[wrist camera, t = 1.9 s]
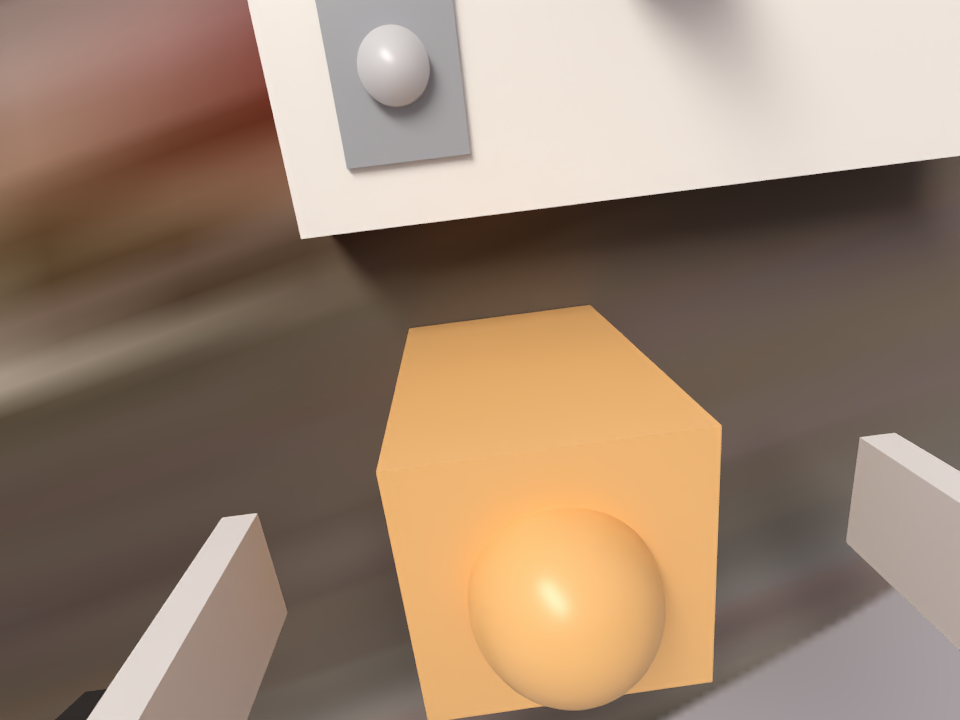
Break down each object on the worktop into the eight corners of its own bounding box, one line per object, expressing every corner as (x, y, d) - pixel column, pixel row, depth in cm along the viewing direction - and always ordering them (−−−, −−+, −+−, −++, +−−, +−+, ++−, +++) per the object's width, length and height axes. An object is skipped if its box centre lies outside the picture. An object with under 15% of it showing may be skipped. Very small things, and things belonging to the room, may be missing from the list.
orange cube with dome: (435, 485, 20) (424, 834, 9) (409, 328, 18) (357, 549, 7) (598, 463, 20) (766, 783, 9) (590, 304, 18) (791, 489, 7)
